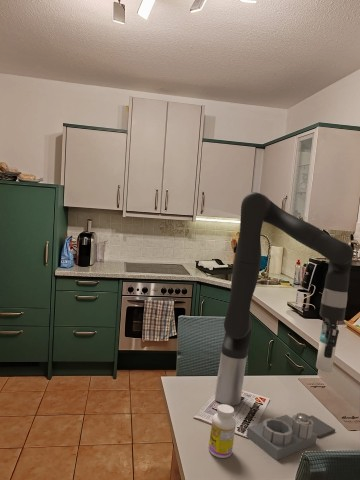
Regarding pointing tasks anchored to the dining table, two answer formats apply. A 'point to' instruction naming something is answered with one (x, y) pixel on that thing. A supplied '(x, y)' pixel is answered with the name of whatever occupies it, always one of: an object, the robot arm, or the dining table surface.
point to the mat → (321, 427)
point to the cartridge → (322, 361)
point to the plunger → (303, 418)
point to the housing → (282, 436)
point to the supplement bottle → (222, 432)
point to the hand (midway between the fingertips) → (325, 354)
